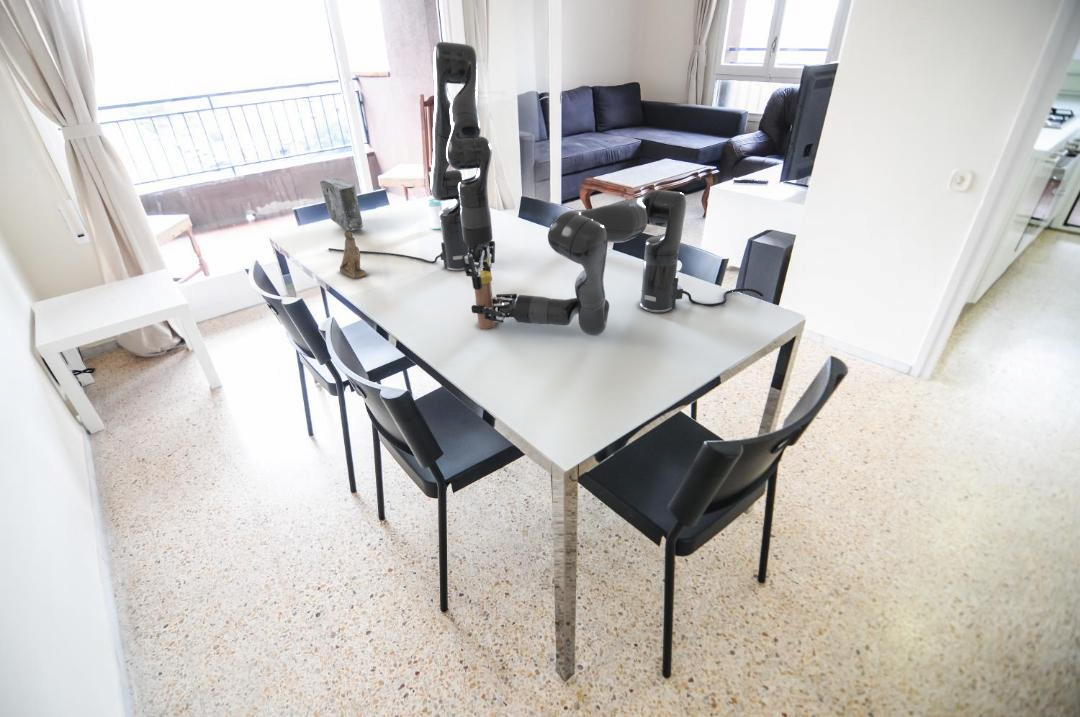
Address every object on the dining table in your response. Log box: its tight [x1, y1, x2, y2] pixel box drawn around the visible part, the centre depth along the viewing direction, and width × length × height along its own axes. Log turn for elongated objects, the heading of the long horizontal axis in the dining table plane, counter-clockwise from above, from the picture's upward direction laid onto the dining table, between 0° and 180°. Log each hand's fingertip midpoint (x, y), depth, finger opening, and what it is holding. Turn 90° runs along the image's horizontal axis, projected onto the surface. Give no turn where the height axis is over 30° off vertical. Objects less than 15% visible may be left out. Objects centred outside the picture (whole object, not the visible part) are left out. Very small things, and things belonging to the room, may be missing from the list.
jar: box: [473, 281, 496, 330], centre depth 137 cm, size 5×5×15 cm
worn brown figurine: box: [339, 230, 367, 280], centre depth 174 cm, size 12×6×18 cm, turn 43°
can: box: [426, 198, 445, 230], centre depth 220 cm, size 7×7×12 cm
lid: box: [476, 270, 493, 284], centre depth 133 cm, size 5×5×2 cm
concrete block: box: [319, 177, 364, 232], centre depth 222 cm, size 27×9×20 cm, turn 36°
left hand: (482, 284), depth 134 cm, fingers closed on lid, 5 cm apart
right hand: (475, 304), depth 138 cm, fingers closed on jar, 4 cm apart
